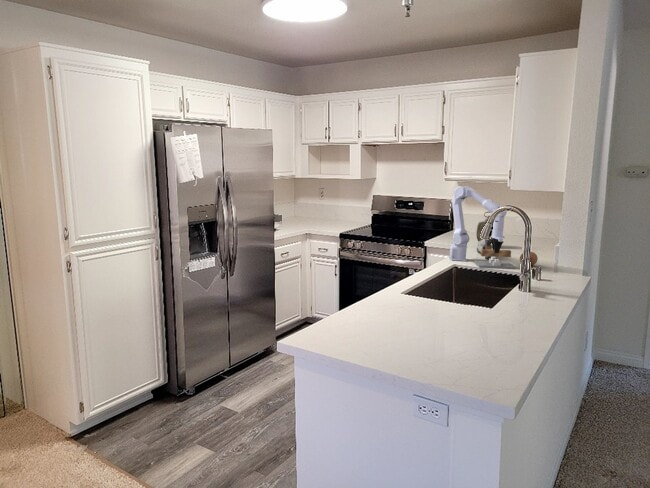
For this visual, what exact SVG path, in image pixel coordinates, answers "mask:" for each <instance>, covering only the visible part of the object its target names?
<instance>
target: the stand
mask: <svg viewBox="0 0 650 488" xmlns="http://www.w3.org/2000/svg"><path fill="white" fill-rule="evenodd" d="M473 262H474V264H475V265H476V266H477V267H478V268H481V269H503V270H504V269H505V270H507V269H508V270H516V268H517V267H516V266H515V265H514V264H513V263H511V262H507V261H506V262H505V261H500V259H499V258H497V257H491V259H488V261H485V260H484V261H483V260H481V261H480V260H474V261H473Z"/></svg>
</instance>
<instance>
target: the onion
mask: <svg viewBox="0 0 650 488" xmlns="http://www.w3.org/2000/svg"><path fill="white" fill-rule="evenodd" d="M538 258H539V257H538V255H537V254H536V253H535V252H534V251H530V262H531V267H534V266H535V265H537V262H538V260H539V259H538ZM522 259H523V252H522V253H521V255H520V256H519V261H520V262H521V260H522Z"/></svg>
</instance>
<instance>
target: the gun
mask: <svg viewBox="0 0 650 488" xmlns="http://www.w3.org/2000/svg"><path fill="white" fill-rule="evenodd" d="M477 242H478V243H477V246H476V252H477V253H480V254H481V249H489V250H493V248H492V243H491V240H490V239H489V240H483V239H480V240H479V241H477ZM484 259H486V260H489V259H491V257H489V256H484Z"/></svg>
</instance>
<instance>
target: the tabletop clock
mask: <svg viewBox="0 0 650 488" xmlns="http://www.w3.org/2000/svg"><path fill="white" fill-rule="evenodd" d="M486 214H491V213H490V212H489V211H485V212H484V213H483V217H485V219H484V221H479V222H478V223H477V225H476V226H477V227H476V230H475V231H476V232H475V233H476V240H477V242H479V240H480V239H481V238H480V234H481V231H482V229H483V227H484V226H485V224H486V223H487V221H488V219H489V217H491V216H490V215H488V216H486ZM491 239H493V238H492V237H491Z"/></svg>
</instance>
